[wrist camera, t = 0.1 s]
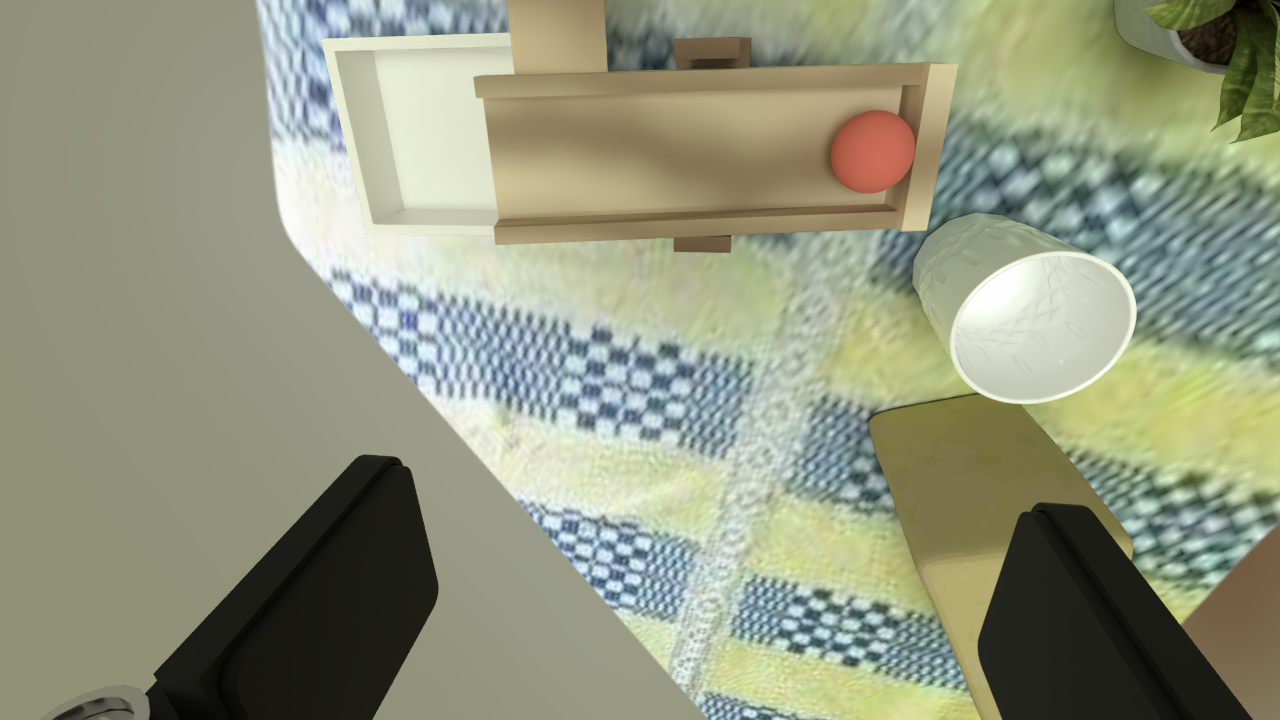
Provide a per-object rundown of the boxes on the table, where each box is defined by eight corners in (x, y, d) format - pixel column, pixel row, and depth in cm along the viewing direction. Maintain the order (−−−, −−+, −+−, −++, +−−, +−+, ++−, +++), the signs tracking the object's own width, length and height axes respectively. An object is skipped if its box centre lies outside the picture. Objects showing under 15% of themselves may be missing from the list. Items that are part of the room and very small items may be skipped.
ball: (826, 108, 28) (849, 115, 25) (903, 106, 28) (936, 112, 24) (818, 186, 29) (838, 202, 26) (891, 184, 29) (920, 200, 26)
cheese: (1030, 616, 49) (1138, 824, 36) (904, 627, 52) (961, 825, 38) (1014, 383, 40) (1149, 545, 27) (863, 410, 43) (919, 571, 30)
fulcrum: (678, 40, 34) (660, 36, 26) (750, 38, 33) (754, 33, 25) (677, 211, 38) (661, 253, 30) (741, 212, 38) (742, 254, 30)
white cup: (913, 338, 40) (963, 420, 31) (889, 226, 37) (937, 282, 28) (1046, 304, 38) (1140, 382, 29) (1032, 182, 35) (1133, 227, 26)
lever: (458, -162, 24) (432, -203, 20) (946, -167, 25) (1010, -207, 21) (506, 226, 31) (494, 250, 27) (886, 211, 32) (926, 232, 28)
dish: (366, 40, 36) (321, 38, 32) (563, 33, 35) (541, 31, 31) (402, 216, 41) (366, 233, 37) (576, 218, 39) (558, 236, 36)
